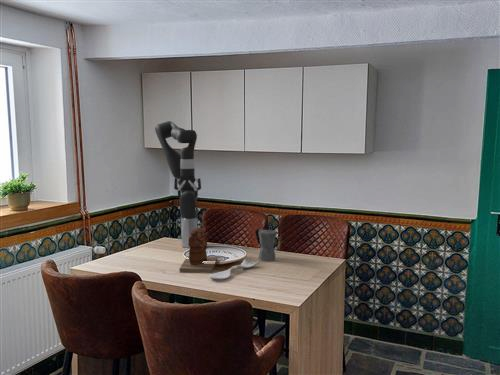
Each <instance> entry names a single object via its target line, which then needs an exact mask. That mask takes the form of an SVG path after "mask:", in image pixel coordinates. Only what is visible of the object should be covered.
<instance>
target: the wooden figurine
mask: <svg viewBox="0 0 500 375" xmlns="http://www.w3.org/2000/svg"><path fill="white" fill-rule="evenodd" d="M188 241H189V242H188V245H189V247H190V248H189V250H188V254H189V255H188V256H189V260H190V264H191V265H198V264H203V263H202V262H203V261H205V260H207V256H208V255H207V248H208V240H207V235H206V232H205V230H204V229H203V228H201V227H197V228H194V229H193V230H192V232H191V235H190V237H189V240H188Z"/></svg>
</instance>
